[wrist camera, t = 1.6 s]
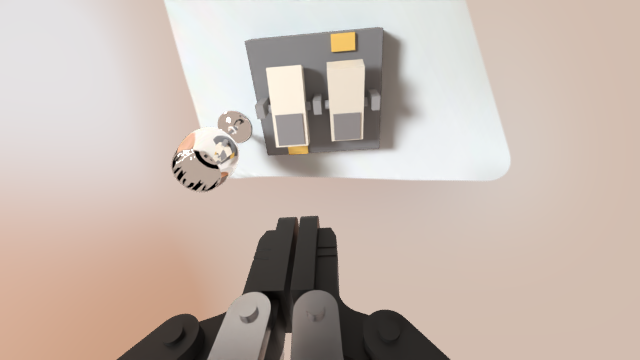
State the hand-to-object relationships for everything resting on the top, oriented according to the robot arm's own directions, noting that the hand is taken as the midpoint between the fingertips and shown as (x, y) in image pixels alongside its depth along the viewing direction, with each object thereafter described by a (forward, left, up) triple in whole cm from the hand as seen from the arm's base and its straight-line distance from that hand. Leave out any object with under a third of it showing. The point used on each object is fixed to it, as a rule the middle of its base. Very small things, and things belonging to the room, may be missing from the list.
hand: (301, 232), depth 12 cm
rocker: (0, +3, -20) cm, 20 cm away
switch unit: (0, 0, -25) cm, 25 cm away
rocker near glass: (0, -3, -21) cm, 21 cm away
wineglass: (+3, -12, -25) cm, 28 cm away
